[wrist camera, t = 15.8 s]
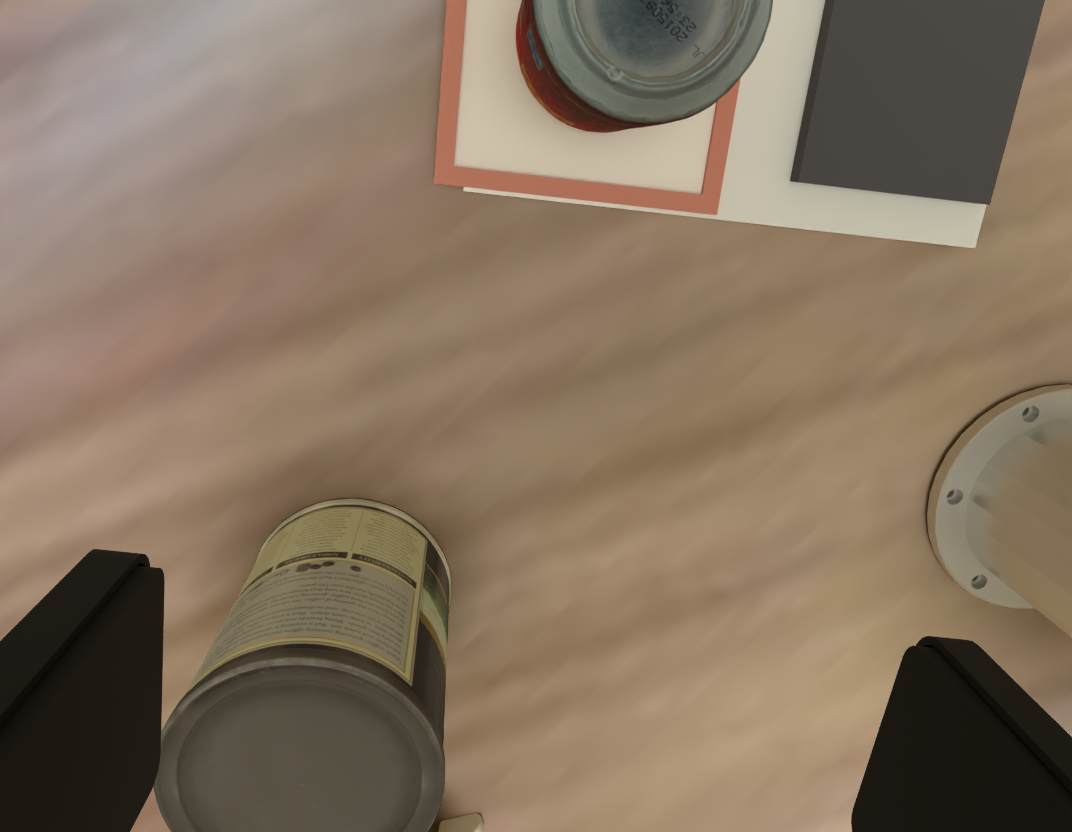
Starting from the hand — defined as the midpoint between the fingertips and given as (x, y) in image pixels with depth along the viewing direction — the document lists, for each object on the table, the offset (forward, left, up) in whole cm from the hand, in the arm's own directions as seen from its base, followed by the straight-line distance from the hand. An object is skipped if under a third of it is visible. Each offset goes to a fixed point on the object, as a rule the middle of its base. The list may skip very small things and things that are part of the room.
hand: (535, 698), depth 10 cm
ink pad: (-17, -11, -29) cm, 35 cm away
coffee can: (+6, +16, -30) cm, 34 cm away
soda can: (-3, -11, -29) cm, 31 cm away
